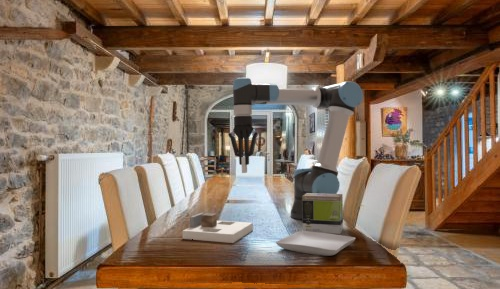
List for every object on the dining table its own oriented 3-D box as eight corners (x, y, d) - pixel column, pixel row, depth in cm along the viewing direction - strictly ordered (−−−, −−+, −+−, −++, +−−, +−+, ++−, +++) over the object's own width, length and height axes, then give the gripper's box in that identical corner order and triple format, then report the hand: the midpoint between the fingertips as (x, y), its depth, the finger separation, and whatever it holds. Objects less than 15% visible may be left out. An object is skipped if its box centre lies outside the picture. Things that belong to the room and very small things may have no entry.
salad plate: (300, 238, 152) (300, 229, 152) (356, 246, 141) (356, 236, 141) (274, 251, 134) (274, 241, 134) (336, 261, 123) (336, 250, 123)
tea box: (343, 229, 166) (343, 193, 166) (340, 235, 157) (340, 196, 157) (306, 227, 171) (306, 192, 171) (301, 232, 162) (301, 195, 162)
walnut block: (216, 225, 160) (216, 213, 160) (212, 227, 156) (212, 215, 156) (206, 224, 162) (206, 213, 162) (201, 226, 158) (201, 215, 158)
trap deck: (252, 230, 165) (252, 212, 165) (233, 242, 144) (233, 223, 144) (207, 226, 171) (207, 210, 171) (182, 238, 151) (182, 219, 151)
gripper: (260, 115, 171) (262, 171, 171) (231, 116, 175) (232, 171, 175) (255, 114, 164) (257, 173, 164) (225, 116, 167) (226, 173, 168)
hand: (244, 172), depth 170 cm, fingers closed
